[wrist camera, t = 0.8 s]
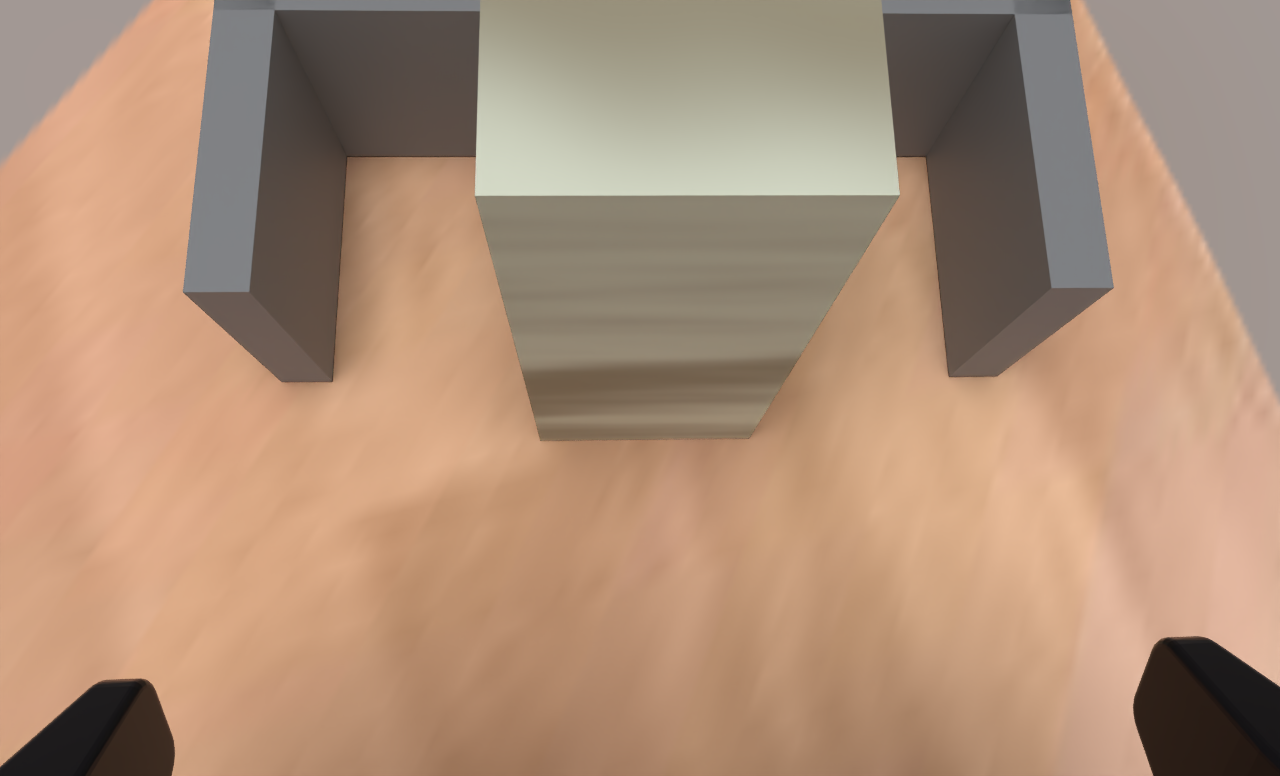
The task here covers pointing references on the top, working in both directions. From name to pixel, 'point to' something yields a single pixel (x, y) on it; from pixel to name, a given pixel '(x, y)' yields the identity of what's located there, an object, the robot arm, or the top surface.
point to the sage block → (676, 198)
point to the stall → (447, 126)
